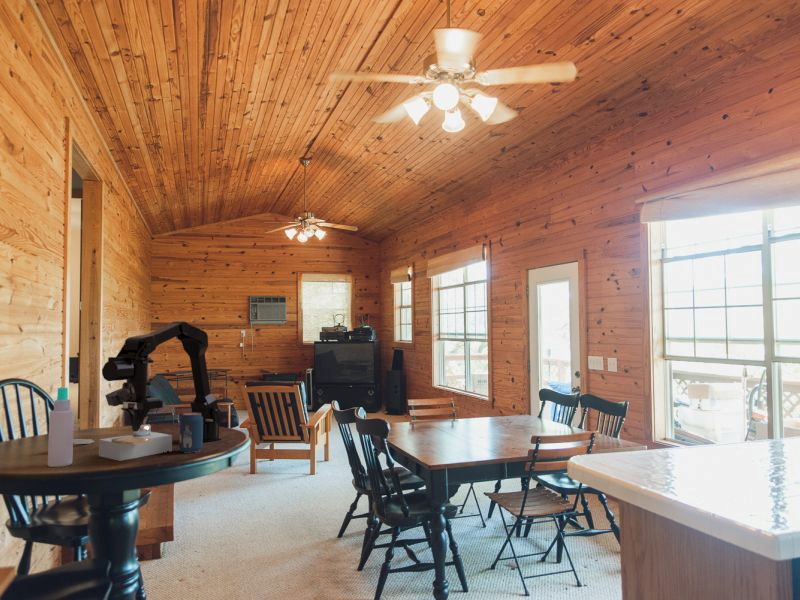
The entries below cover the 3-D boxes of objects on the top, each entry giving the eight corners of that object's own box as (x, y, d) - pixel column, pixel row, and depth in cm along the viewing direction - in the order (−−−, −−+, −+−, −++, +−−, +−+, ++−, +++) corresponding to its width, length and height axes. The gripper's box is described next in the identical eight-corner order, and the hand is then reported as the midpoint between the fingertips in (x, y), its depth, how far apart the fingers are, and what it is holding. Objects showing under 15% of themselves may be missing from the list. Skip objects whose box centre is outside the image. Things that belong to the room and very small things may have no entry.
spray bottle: (76, 462, 161) (79, 386, 163) (63, 467, 155) (66, 388, 157) (56, 462, 161) (59, 386, 163) (42, 467, 155) (45, 388, 157)
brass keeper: (132, 438, 171) (132, 436, 171) (153, 441, 165) (153, 439, 165) (113, 441, 166) (113, 439, 166) (133, 444, 160) (133, 442, 160)
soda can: (199, 448, 182) (200, 411, 182) (204, 451, 176) (205, 413, 177) (177, 450, 178) (178, 413, 179) (181, 454, 172) (182, 415, 173)
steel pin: (144, 448, 181) (145, 424, 181) (153, 449, 178) (153, 425, 179) (129, 450, 177) (130, 426, 177) (138, 452, 174) (139, 427, 174)
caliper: (52, 455, 173) (53, 435, 173) (49, 455, 173) (50, 434, 173) (94, 442, 193) (95, 424, 194) (91, 442, 193) (92, 424, 194)
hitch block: (150, 446, 184) (150, 428, 185) (171, 450, 177) (172, 432, 178) (98, 455, 170) (99, 436, 171) (119, 460, 163) (120, 440, 164)
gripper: (93, 379, 164) (92, 432, 163) (128, 381, 154) (126, 438, 153) (130, 377, 174) (128, 427, 172) (164, 379, 163) (163, 432, 162)
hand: (135, 431), depth 165 cm, fingers closed
